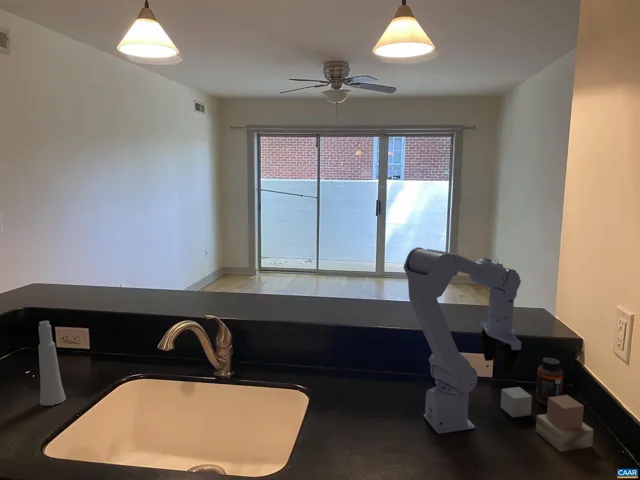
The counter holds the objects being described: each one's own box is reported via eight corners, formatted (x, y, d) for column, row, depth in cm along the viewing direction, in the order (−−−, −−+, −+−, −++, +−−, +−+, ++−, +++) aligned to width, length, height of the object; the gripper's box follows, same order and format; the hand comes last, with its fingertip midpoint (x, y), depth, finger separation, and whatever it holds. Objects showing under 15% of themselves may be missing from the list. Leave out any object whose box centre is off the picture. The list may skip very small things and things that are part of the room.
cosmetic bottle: (63, 404, 123) (55, 324, 119) (37, 409, 121) (27, 327, 117) (67, 394, 128) (59, 316, 125) (42, 398, 126) (33, 319, 123)
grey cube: (512, 417, 115) (513, 398, 114) (500, 407, 120) (501, 389, 119) (530, 415, 116) (531, 396, 115) (518, 405, 121) (519, 386, 120)
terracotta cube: (562, 430, 102) (564, 408, 101) (546, 418, 107) (548, 397, 106) (581, 427, 103) (583, 405, 103) (565, 415, 108) (567, 394, 107)
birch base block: (560, 451, 101) (561, 434, 101) (535, 431, 109) (536, 415, 108) (591, 446, 103) (593, 429, 102) (565, 426, 111) (566, 410, 110)
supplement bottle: (564, 408, 119) (567, 366, 117) (538, 406, 120) (541, 364, 118) (557, 397, 124) (560, 356, 123) (533, 395, 126) (536, 354, 124)
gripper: (533, 322, 111) (530, 377, 113) (497, 304, 125) (495, 353, 127) (507, 325, 109) (503, 380, 112) (473, 306, 123) (471, 355, 126)
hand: (497, 366), depth 119 cm, fingers open, 7 cm apart
